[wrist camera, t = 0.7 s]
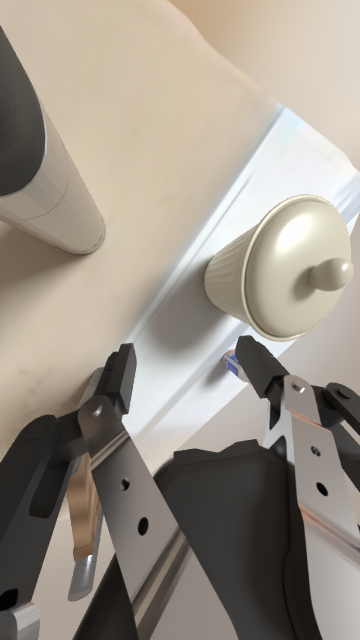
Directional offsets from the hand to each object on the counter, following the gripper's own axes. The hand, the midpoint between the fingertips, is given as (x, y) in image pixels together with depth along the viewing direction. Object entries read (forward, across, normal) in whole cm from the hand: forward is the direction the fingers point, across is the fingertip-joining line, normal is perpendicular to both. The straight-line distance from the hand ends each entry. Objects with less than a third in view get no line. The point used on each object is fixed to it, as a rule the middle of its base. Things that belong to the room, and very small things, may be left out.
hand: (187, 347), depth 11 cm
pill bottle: (+18, -16, +22) cm, 33 cm away
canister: (+24, -14, +2) cm, 28 cm away
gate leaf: (+9, +17, +30) cm, 35 cm away
